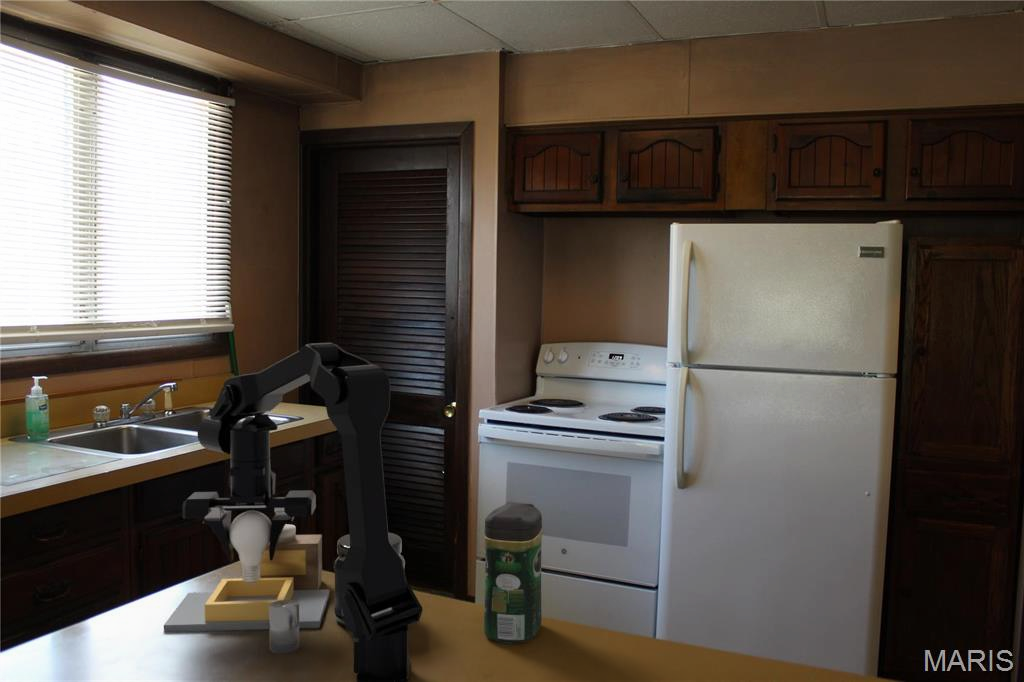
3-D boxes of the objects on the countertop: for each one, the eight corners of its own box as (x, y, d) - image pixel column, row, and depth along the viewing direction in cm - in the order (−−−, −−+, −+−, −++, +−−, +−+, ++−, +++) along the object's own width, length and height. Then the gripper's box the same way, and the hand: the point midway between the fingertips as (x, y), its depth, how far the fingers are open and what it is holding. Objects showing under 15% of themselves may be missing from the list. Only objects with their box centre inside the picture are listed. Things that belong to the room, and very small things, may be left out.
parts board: (329, 595, 138) (329, 574, 138) (319, 627, 125) (319, 604, 125) (188, 598, 136) (188, 577, 136) (163, 631, 123) (163, 608, 123)
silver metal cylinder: (301, 641, 120) (301, 599, 120) (296, 653, 117) (296, 610, 116) (272, 641, 120) (271, 600, 120) (266, 654, 116) (266, 610, 116)
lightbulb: (260, 591, 126) (259, 518, 126) (221, 588, 128) (220, 515, 127) (280, 577, 133) (280, 507, 132) (242, 574, 134) (242, 505, 133)
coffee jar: (494, 616, 130) (496, 496, 129) (545, 622, 128) (547, 500, 127) (476, 642, 121) (477, 512, 120) (531, 649, 119) (533, 517, 118)
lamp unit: (321, 581, 145) (321, 522, 144) (317, 592, 139) (317, 532, 139) (249, 582, 144) (248, 523, 143) (242, 594, 138) (241, 533, 138)
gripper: (319, 447, 138) (320, 543, 139) (200, 449, 136) (201, 545, 137) (310, 461, 127) (311, 565, 128) (180, 463, 125) (182, 568, 126)
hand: (251, 560), depth 130 cm, fingers closed on lightbulb, 6 cm apart
